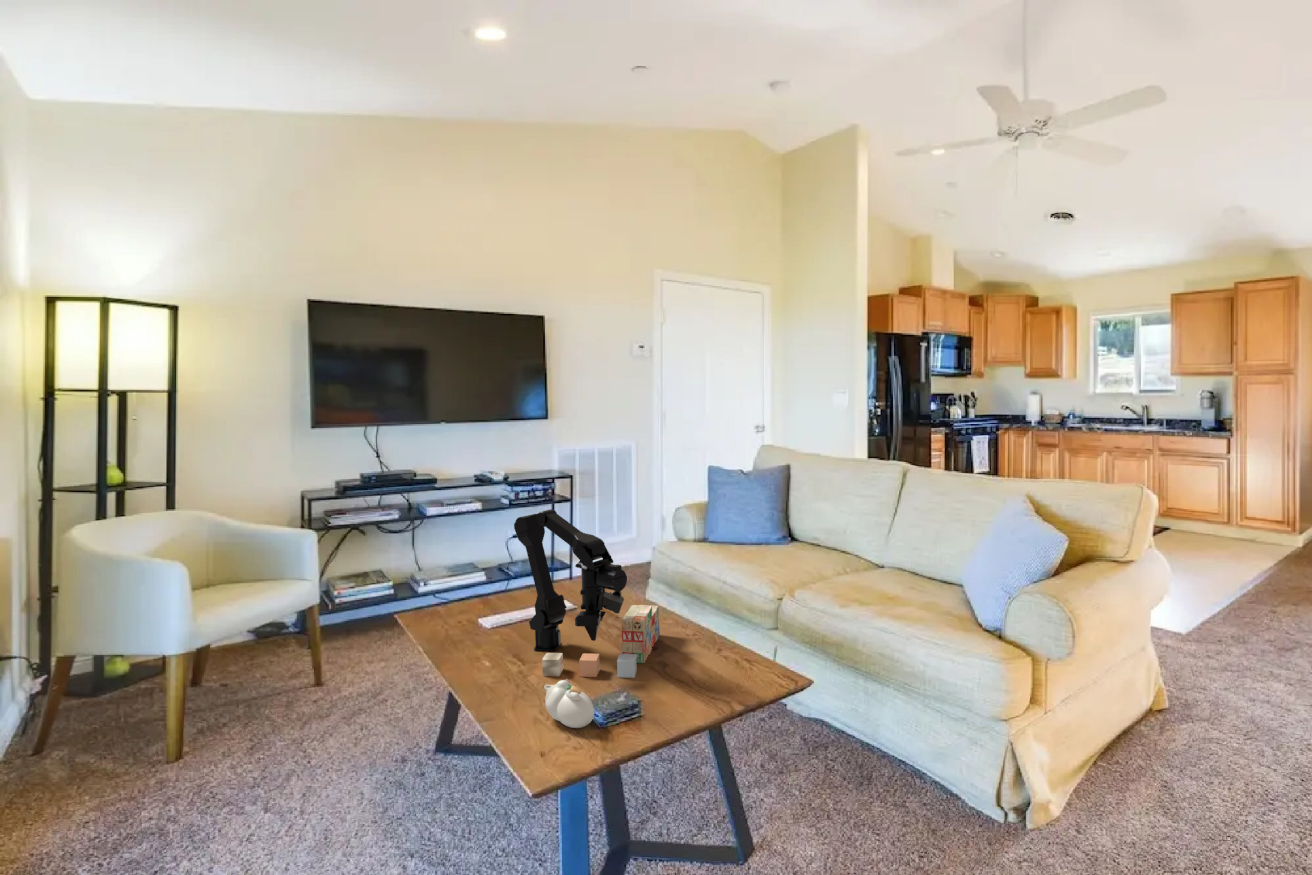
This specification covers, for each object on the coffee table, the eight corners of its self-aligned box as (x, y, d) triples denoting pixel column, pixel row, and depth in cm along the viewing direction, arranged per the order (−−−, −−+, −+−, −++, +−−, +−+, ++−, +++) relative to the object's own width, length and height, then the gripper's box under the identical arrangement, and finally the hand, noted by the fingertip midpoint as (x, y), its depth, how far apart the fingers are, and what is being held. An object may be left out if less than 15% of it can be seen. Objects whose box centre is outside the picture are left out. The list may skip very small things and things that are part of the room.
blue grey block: (617, 677, 174) (616, 660, 173) (619, 670, 178) (619, 654, 178) (634, 677, 173) (634, 661, 173) (636, 670, 178) (636, 654, 177)
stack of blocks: (640, 634, 204) (639, 594, 203) (660, 635, 203) (659, 595, 202) (622, 662, 183) (621, 619, 182) (644, 664, 182) (643, 620, 181)
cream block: (542, 676, 176) (542, 659, 175) (546, 668, 180) (546, 652, 180) (559, 676, 175) (558, 659, 175) (563, 669, 180) (562, 653, 179)
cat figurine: (594, 689, 146) (551, 664, 156) (569, 719, 142) (526, 691, 151) (608, 715, 151) (565, 689, 161) (585, 744, 147) (542, 715, 156)
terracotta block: (579, 676, 175) (579, 660, 174) (583, 669, 179) (582, 653, 179) (596, 677, 174) (596, 660, 174) (599, 669, 179) (599, 653, 178)
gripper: (616, 595, 172) (617, 654, 173) (626, 575, 190) (627, 628, 192) (573, 595, 173) (575, 653, 174) (587, 574, 192) (589, 627, 193)
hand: (593, 640), depth 183 cm, fingers closed
